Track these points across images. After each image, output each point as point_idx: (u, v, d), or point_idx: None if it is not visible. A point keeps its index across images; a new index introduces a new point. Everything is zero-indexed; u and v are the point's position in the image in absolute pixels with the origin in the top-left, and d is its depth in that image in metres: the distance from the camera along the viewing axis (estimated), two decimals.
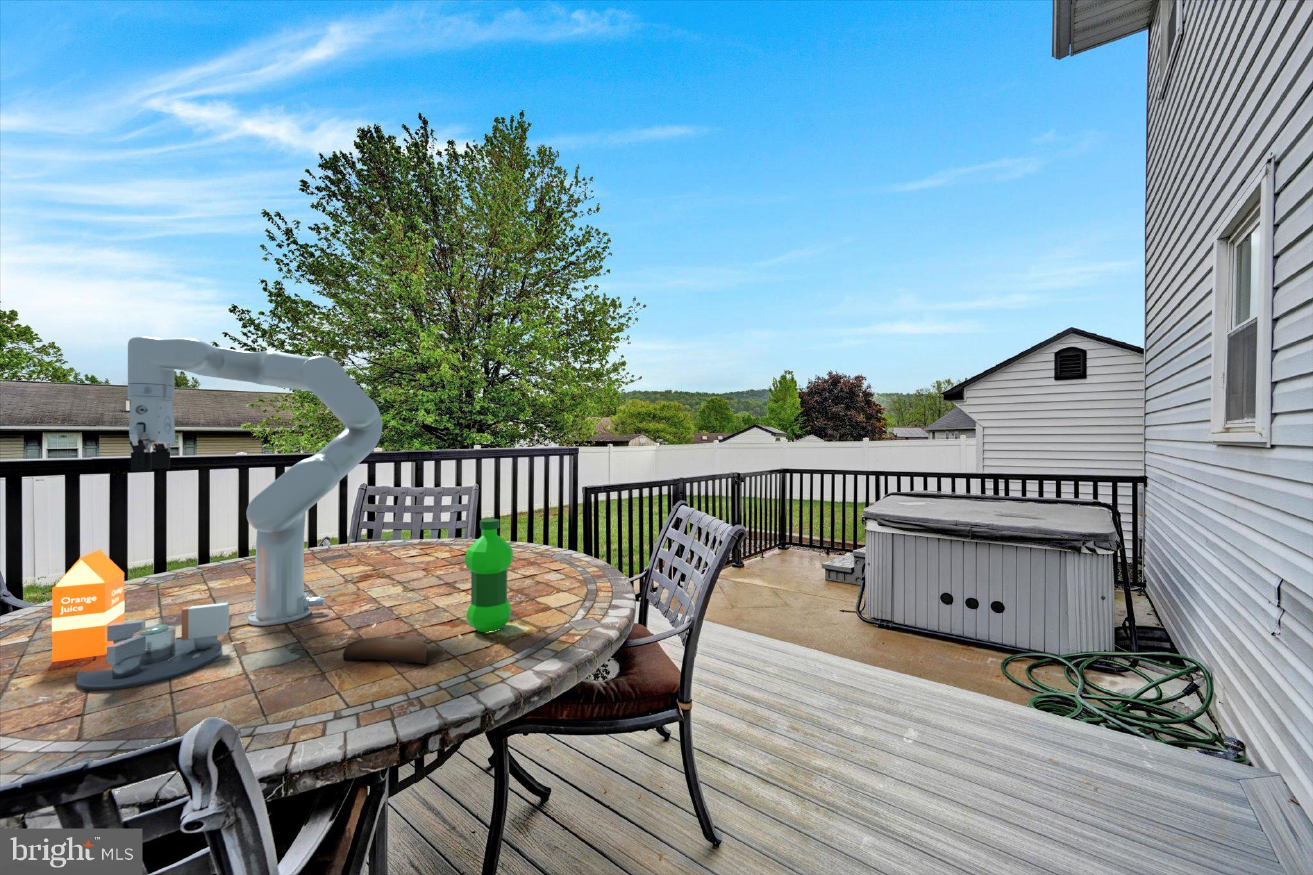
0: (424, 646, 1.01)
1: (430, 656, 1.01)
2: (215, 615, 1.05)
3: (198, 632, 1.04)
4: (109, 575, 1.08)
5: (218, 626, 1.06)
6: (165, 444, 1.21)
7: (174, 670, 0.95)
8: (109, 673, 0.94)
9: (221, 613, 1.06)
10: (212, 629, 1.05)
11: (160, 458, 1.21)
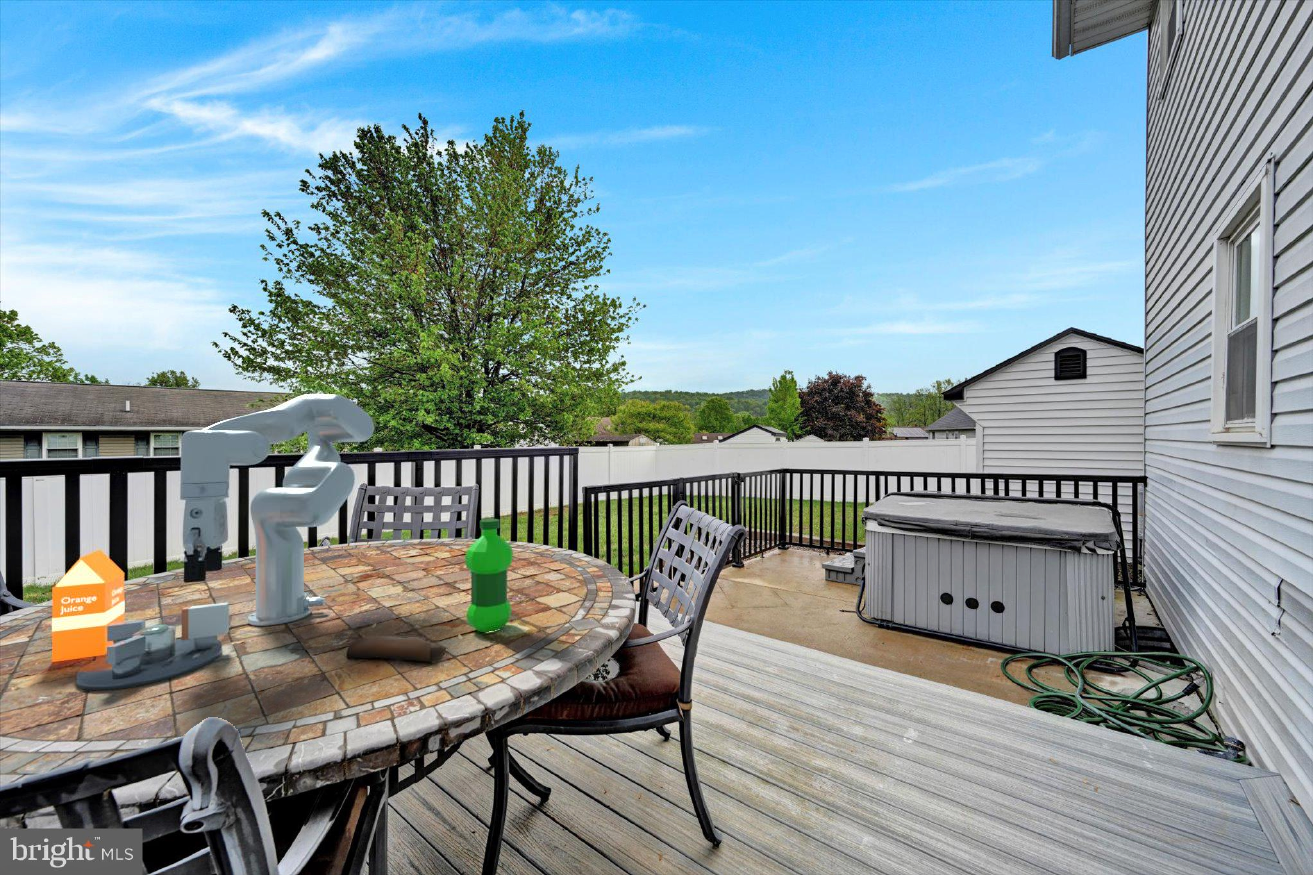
0: (428, 644, 1.02)
1: (434, 654, 1.02)
2: (215, 615, 1.05)
3: (198, 632, 1.04)
4: (109, 575, 1.08)
5: (218, 626, 1.06)
6: None
7: (174, 670, 0.95)
8: (109, 673, 0.94)
9: (221, 613, 1.06)
10: (212, 629, 1.05)
11: (211, 560, 1.09)
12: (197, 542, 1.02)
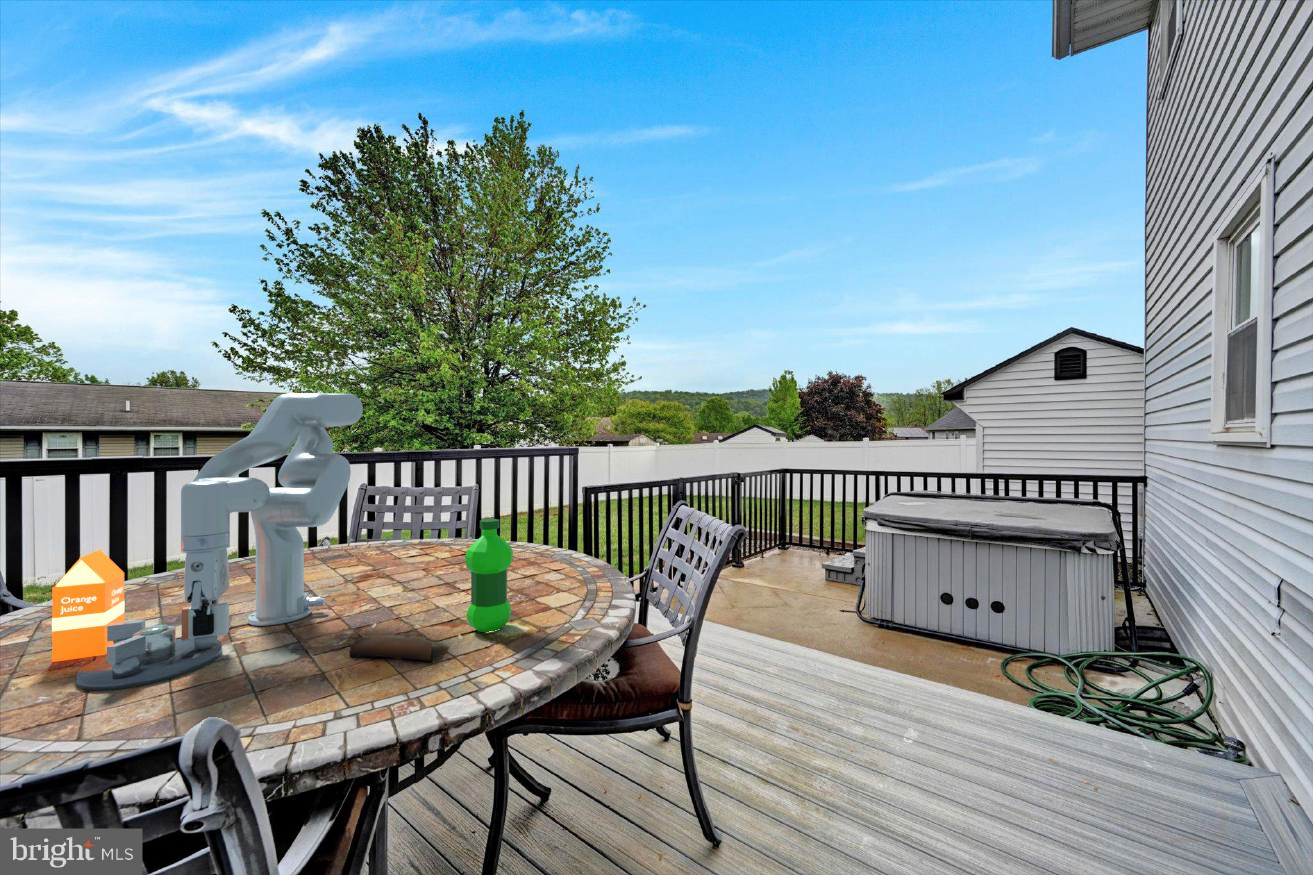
0: (429, 643, 1.02)
1: (435, 653, 1.03)
2: (215, 615, 1.05)
3: None
4: (109, 575, 1.08)
5: (218, 626, 1.06)
6: None
7: (174, 670, 0.95)
8: (109, 673, 0.94)
9: (221, 613, 1.06)
10: None
11: None
12: None
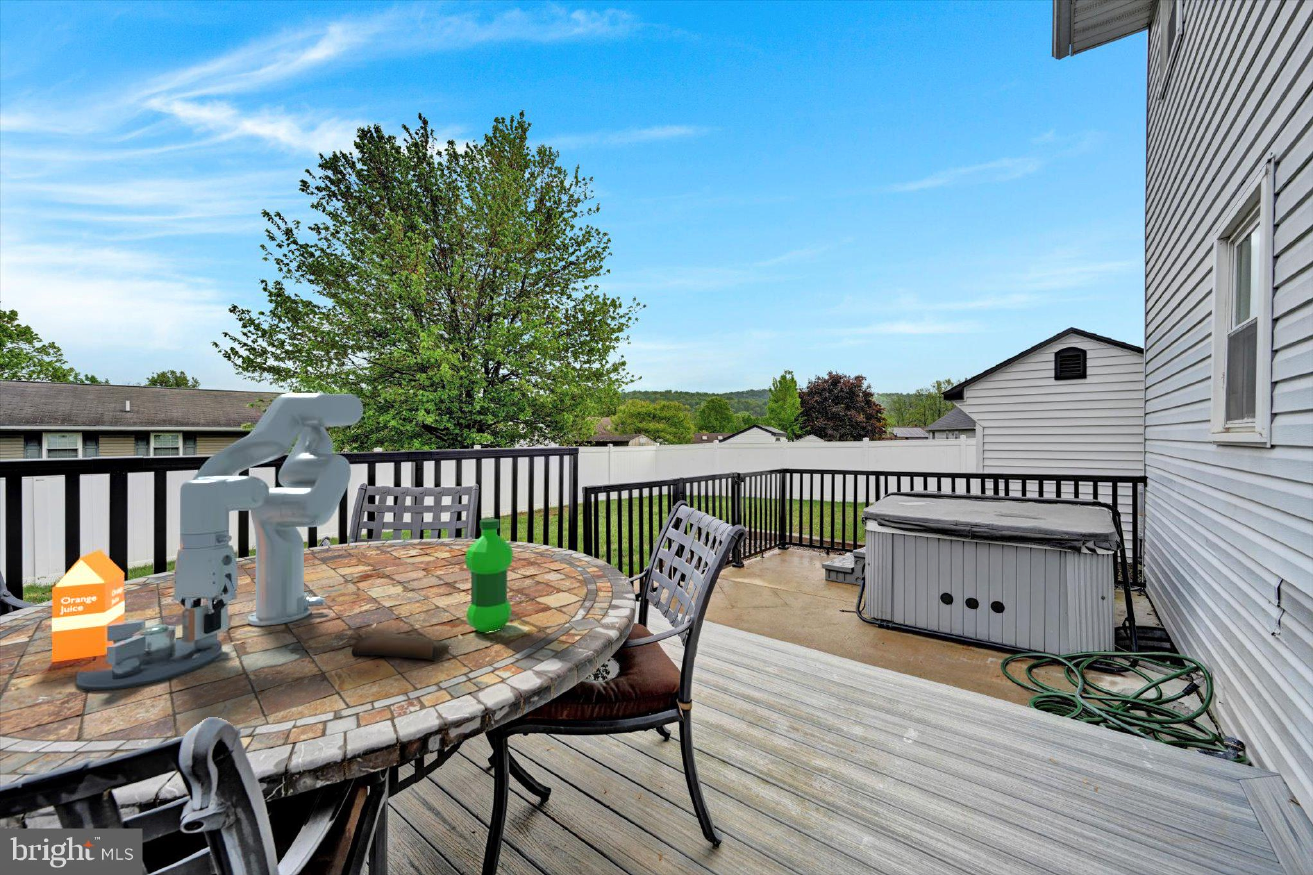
0: (430, 642, 1.03)
1: (437, 652, 1.03)
2: None
3: (203, 632, 1.04)
4: (109, 575, 1.08)
5: (221, 623, 1.07)
6: (202, 597, 1.07)
7: (174, 670, 0.95)
8: (109, 673, 0.94)
9: (224, 610, 1.08)
10: None
11: None
12: None
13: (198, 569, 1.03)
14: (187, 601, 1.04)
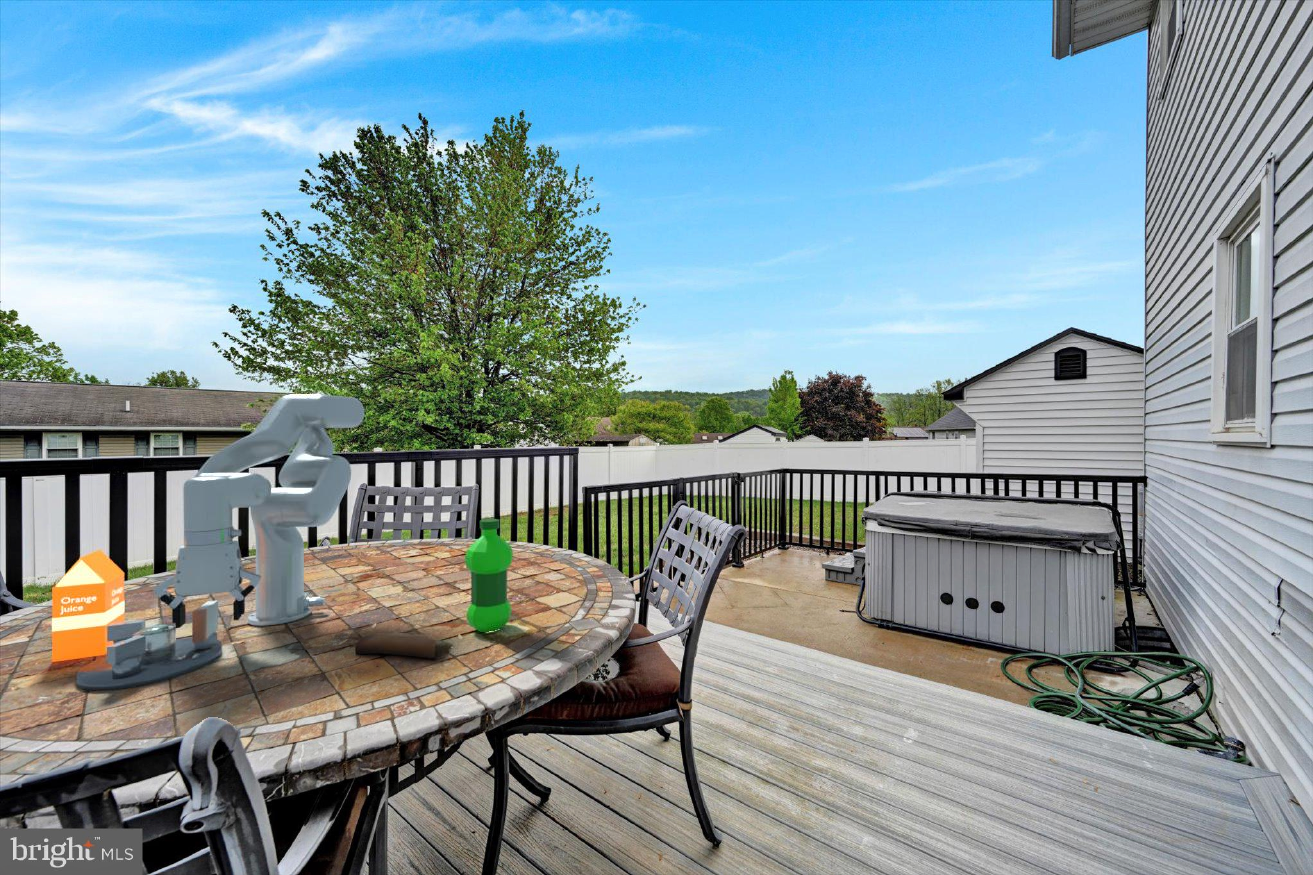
0: (433, 641, 1.03)
1: (439, 651, 1.04)
2: (214, 612, 1.08)
3: (209, 630, 1.05)
4: (109, 575, 1.08)
5: (215, 622, 1.08)
6: None
7: (174, 670, 0.95)
8: (109, 673, 0.94)
9: (216, 609, 1.08)
10: (213, 626, 1.07)
11: (183, 613, 1.04)
12: None
13: (212, 565, 1.04)
14: (179, 597, 1.03)
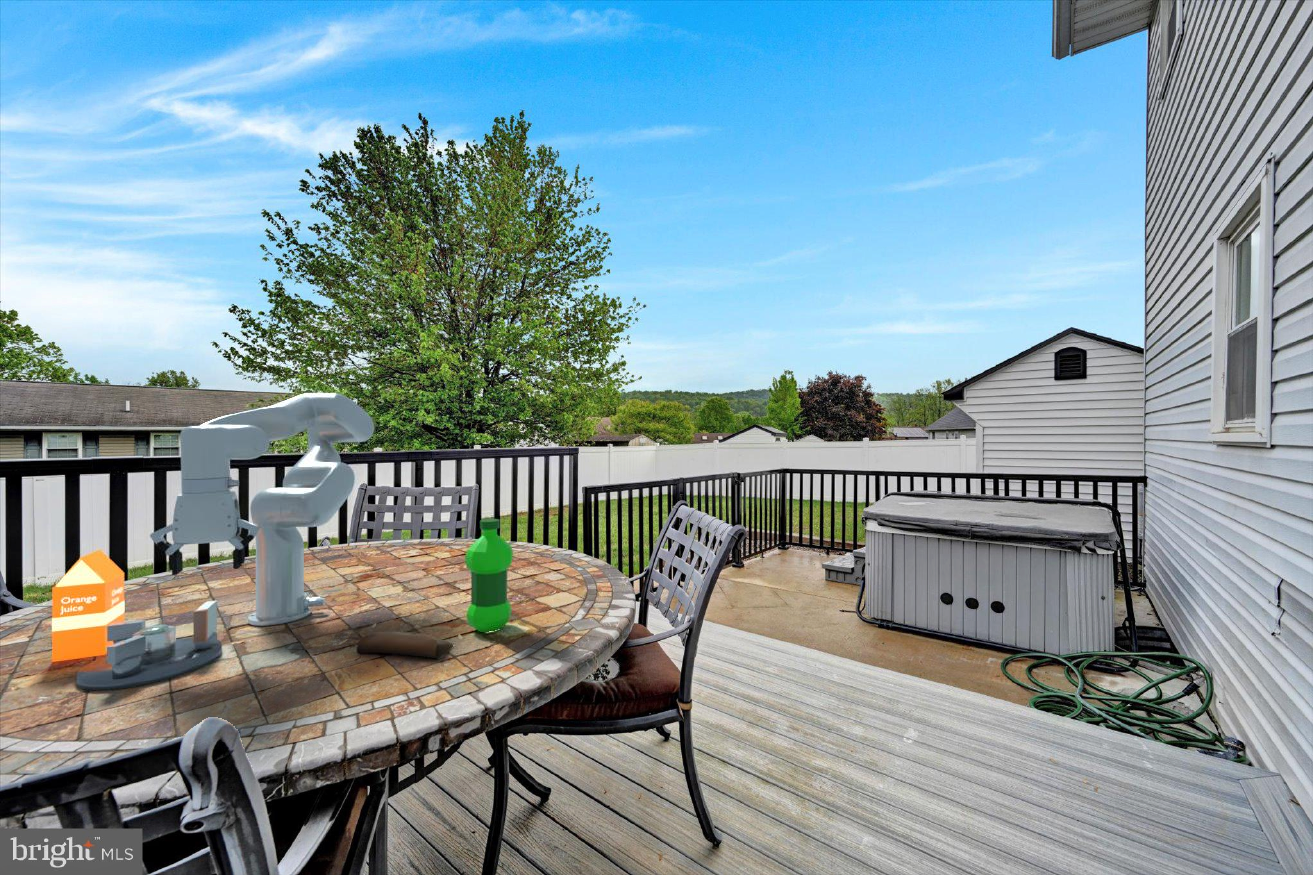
0: (434, 641, 1.04)
1: (440, 650, 1.04)
2: (214, 612, 1.08)
3: (209, 630, 1.05)
4: (109, 575, 1.08)
5: (214, 622, 1.08)
6: None
7: (174, 670, 0.95)
8: (109, 673, 0.94)
9: (215, 609, 1.08)
10: (213, 626, 1.07)
11: (179, 561, 1.04)
12: None
13: (209, 513, 1.04)
14: (176, 544, 1.03)
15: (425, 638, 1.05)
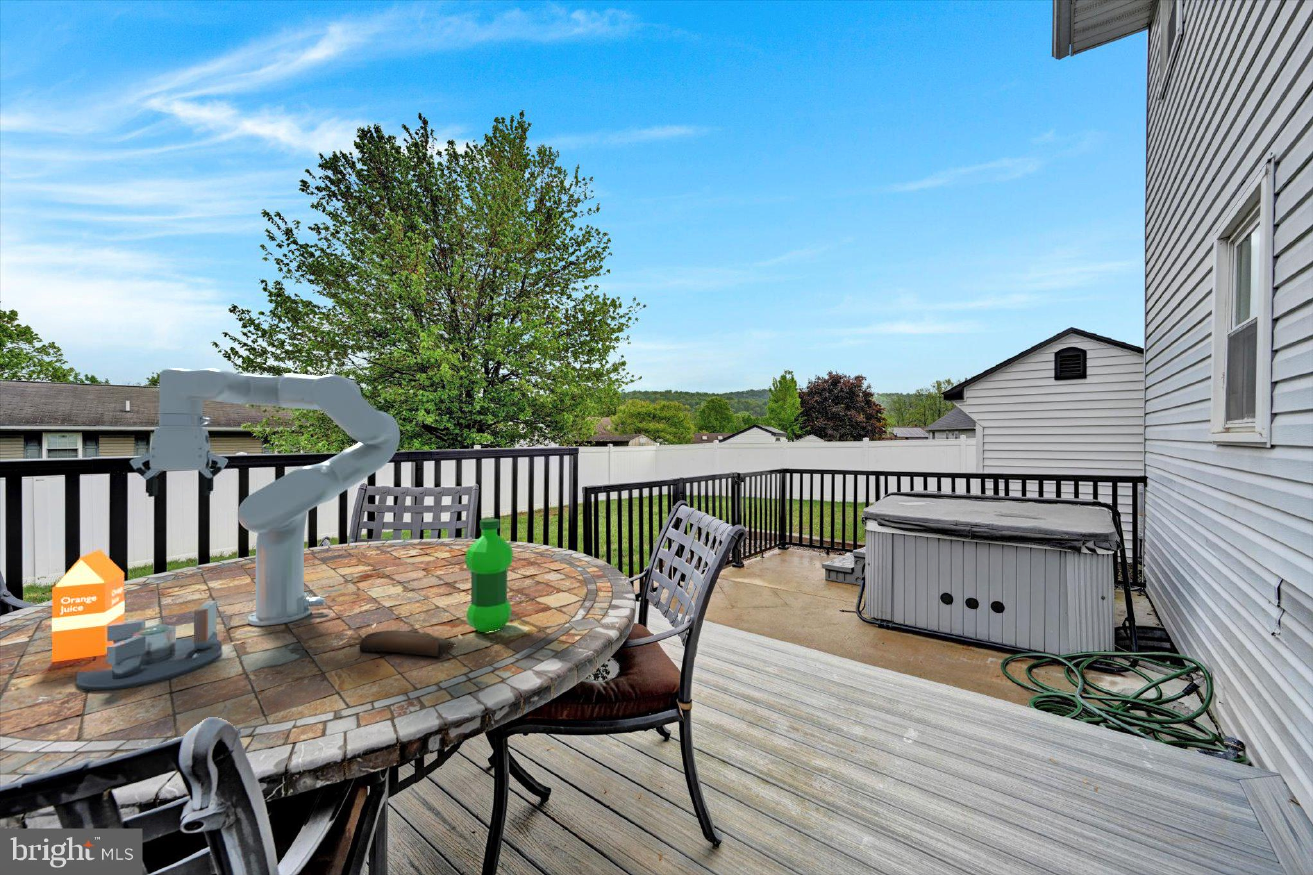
0: (436, 639, 1.04)
1: (442, 649, 1.05)
2: (214, 612, 1.08)
3: (210, 630, 1.05)
4: (109, 575, 1.08)
5: (214, 622, 1.08)
6: (160, 471, 1.21)
7: (174, 670, 0.95)
8: (109, 673, 0.94)
9: (215, 609, 1.08)
10: (213, 626, 1.07)
11: (155, 485, 1.20)
12: None
13: (183, 444, 1.20)
14: (152, 470, 1.18)
15: (427, 637, 1.05)
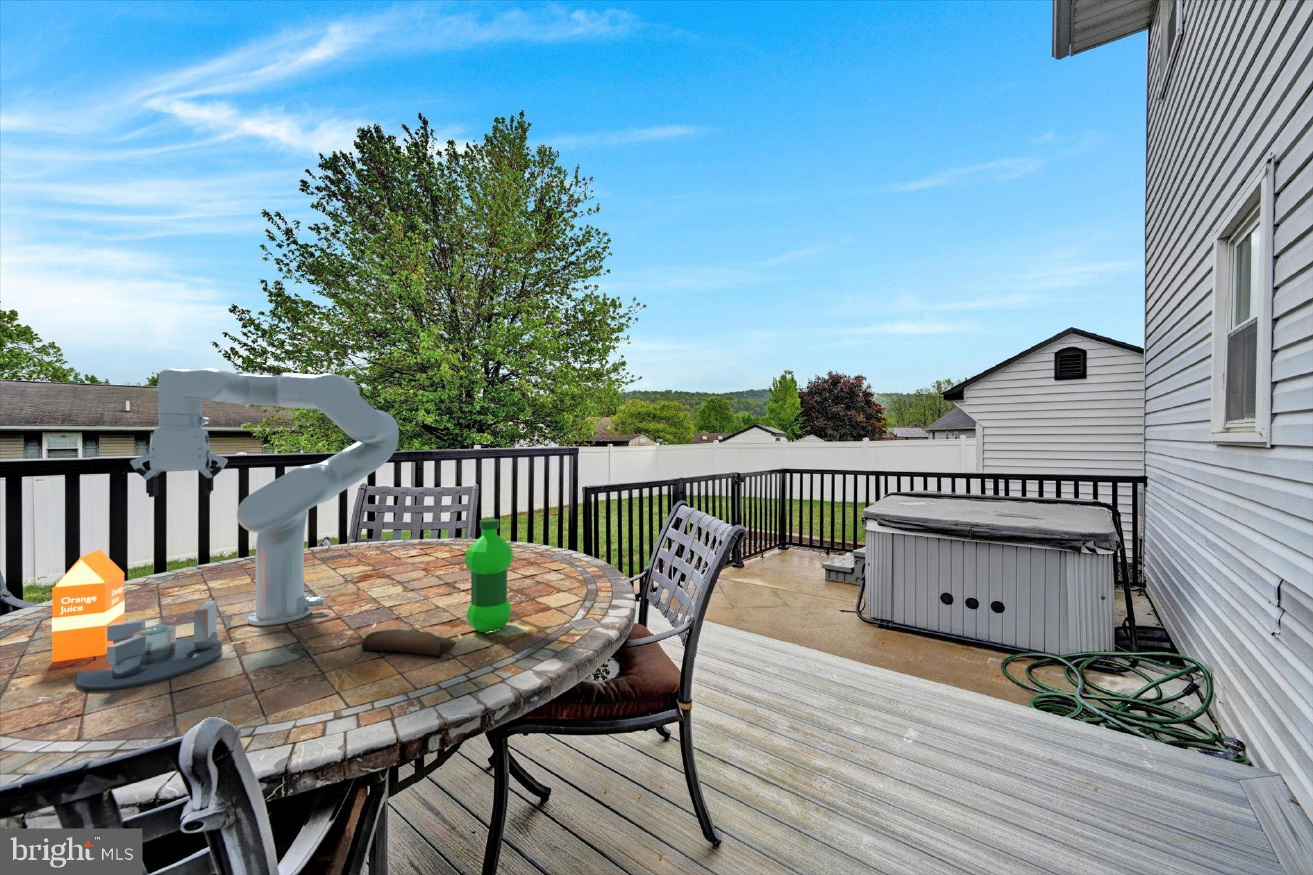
0: (437, 639, 1.05)
1: (443, 648, 1.05)
2: (214, 612, 1.08)
3: (210, 630, 1.05)
4: (109, 575, 1.08)
5: (214, 622, 1.08)
6: (160, 471, 1.21)
7: (174, 670, 0.95)
8: (109, 673, 0.94)
9: (215, 609, 1.08)
10: (213, 626, 1.07)
11: (155, 486, 1.20)
12: None
13: (182, 445, 1.20)
14: (152, 470, 1.19)
15: (429, 636, 1.06)
